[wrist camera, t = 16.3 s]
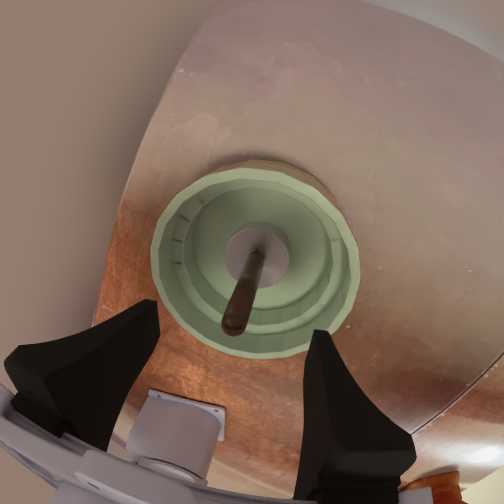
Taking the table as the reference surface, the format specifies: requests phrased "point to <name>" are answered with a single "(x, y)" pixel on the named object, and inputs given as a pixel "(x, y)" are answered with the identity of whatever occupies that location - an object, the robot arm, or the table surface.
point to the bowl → (222, 283)
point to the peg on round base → (252, 269)
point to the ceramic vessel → (441, 488)
